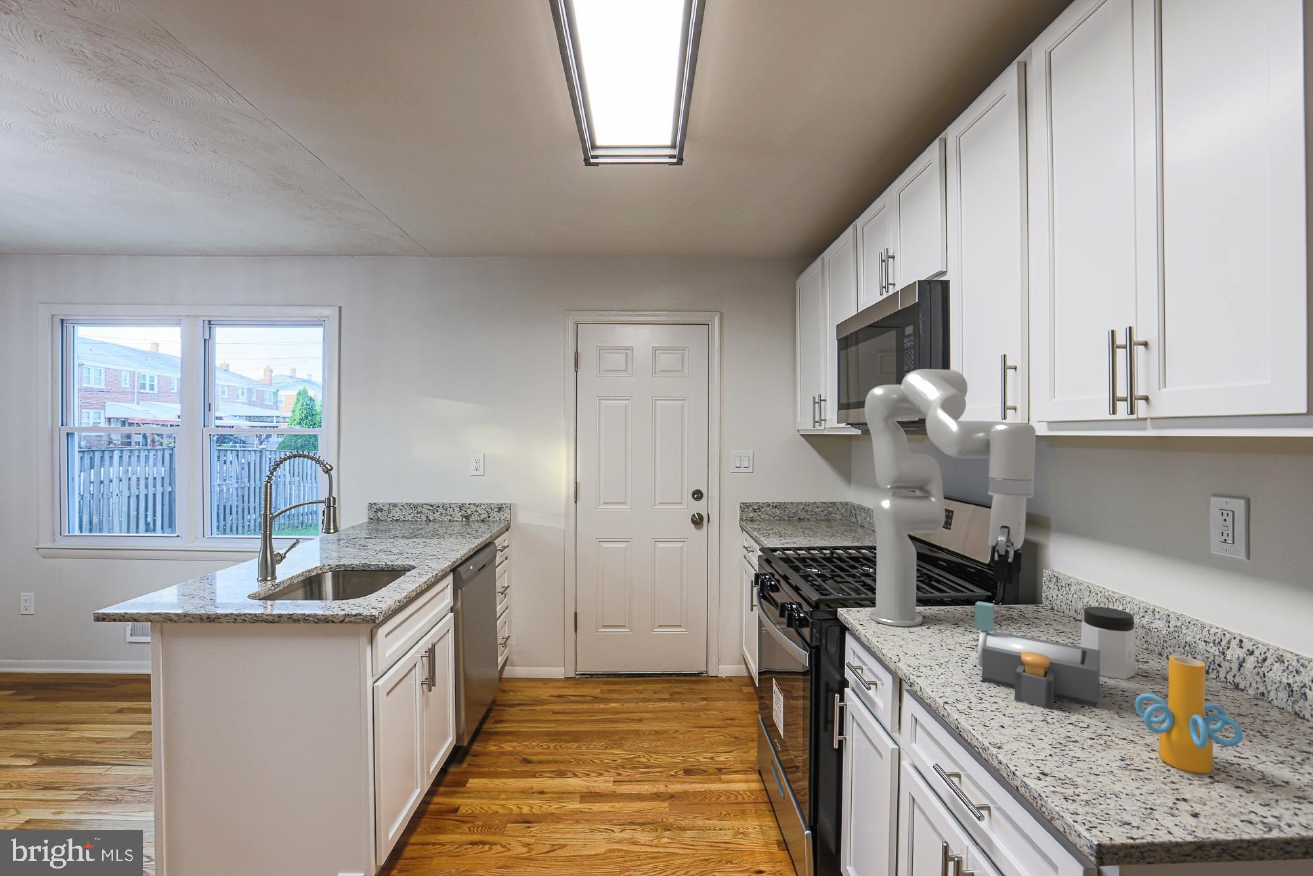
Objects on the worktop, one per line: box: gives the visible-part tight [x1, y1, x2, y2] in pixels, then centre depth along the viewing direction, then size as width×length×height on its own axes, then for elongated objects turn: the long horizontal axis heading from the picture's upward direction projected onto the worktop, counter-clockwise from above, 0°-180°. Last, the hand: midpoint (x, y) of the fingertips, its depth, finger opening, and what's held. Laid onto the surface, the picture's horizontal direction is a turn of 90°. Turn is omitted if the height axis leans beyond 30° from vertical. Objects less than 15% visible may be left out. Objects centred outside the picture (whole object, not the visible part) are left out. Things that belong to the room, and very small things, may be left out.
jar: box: [1080, 606, 1137, 681], centre depth 125 cm, size 9×8×12 cm
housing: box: [981, 630, 1101, 710], centre depth 116 cm, size 19×18×6 cm
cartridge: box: [974, 601, 1082, 668], centre depth 120 cm, size 7×18×13 cm, turn 52°
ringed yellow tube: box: [1134, 655, 1244, 774], centre depth 90 cm, size 12×10×15 cm
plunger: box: [1021, 652, 1050, 677], centre depth 111 cm, size 4×4×7 cm
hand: (1007, 576), depth 118 cm, fingers open, 9 cm apart
